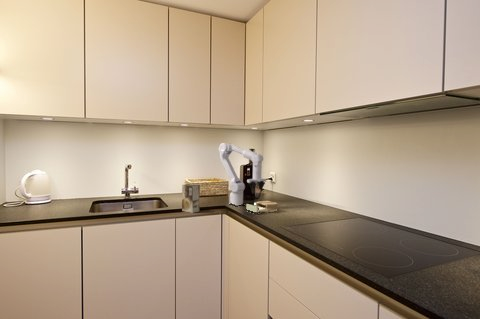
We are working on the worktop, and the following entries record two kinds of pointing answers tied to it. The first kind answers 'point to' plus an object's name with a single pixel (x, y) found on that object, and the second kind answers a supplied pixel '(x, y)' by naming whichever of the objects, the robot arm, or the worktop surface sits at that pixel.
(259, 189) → the coaster
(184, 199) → the coffee box
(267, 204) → the housing
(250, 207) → the tray
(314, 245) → the worktop surface
